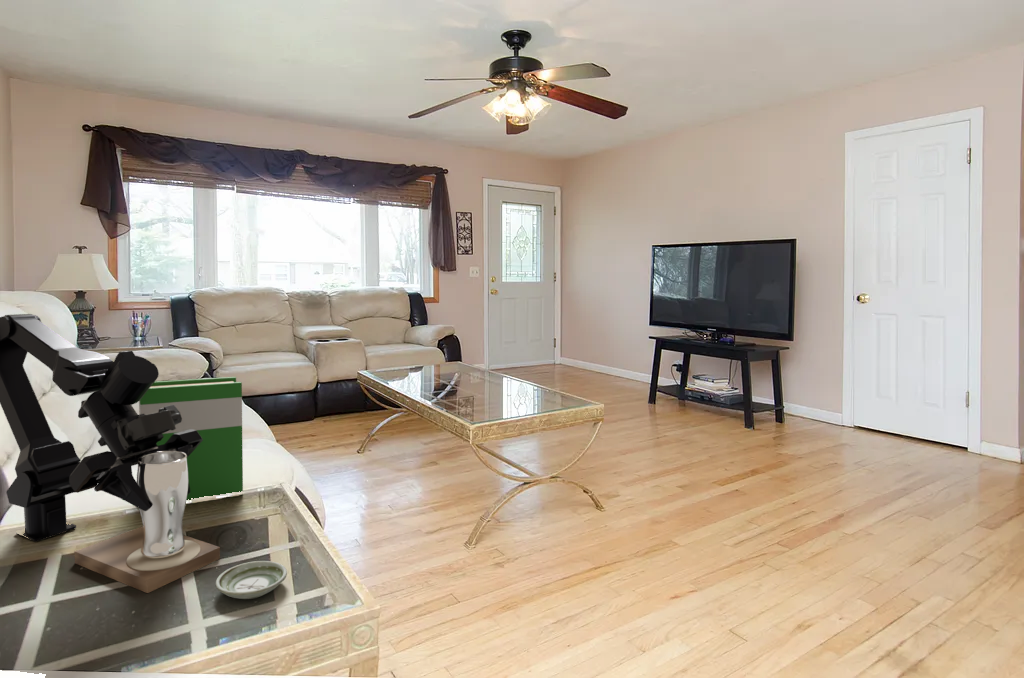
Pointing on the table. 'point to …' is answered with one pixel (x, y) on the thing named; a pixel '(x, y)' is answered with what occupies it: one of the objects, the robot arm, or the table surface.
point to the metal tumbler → (163, 502)
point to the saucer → (251, 579)
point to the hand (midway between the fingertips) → (168, 501)
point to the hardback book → (205, 429)
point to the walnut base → (144, 560)
